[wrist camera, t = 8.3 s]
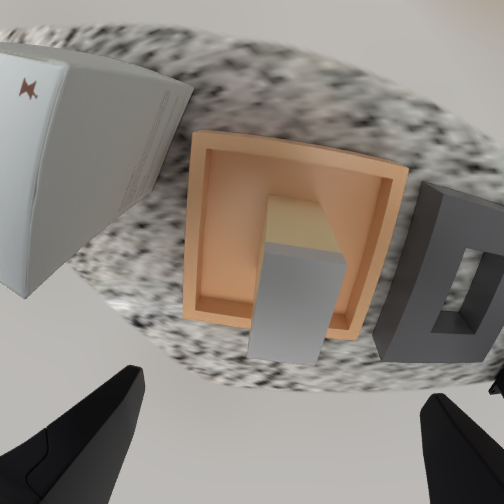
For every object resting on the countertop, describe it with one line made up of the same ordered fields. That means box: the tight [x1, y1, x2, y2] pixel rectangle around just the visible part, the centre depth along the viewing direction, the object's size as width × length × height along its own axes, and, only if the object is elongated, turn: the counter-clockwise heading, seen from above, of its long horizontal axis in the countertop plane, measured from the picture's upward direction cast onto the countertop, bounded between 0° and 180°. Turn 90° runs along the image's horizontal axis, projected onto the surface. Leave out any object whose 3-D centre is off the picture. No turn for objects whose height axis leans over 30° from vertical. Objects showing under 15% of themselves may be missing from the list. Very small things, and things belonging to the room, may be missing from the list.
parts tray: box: [183, 129, 409, 340], centre depth 19 cm, size 12×12×2 cm
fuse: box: [247, 195, 347, 366], centre depth 16 cm, size 3×5×8 cm, turn 172°
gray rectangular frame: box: [372, 181, 504, 363], centre depth 19 cm, size 10×12×3 cm
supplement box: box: [0, 42, 194, 299], centre depth 12 cm, size 7×7×13 cm
